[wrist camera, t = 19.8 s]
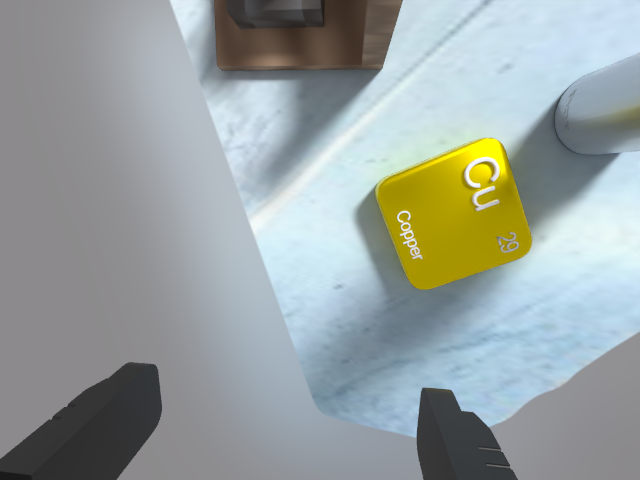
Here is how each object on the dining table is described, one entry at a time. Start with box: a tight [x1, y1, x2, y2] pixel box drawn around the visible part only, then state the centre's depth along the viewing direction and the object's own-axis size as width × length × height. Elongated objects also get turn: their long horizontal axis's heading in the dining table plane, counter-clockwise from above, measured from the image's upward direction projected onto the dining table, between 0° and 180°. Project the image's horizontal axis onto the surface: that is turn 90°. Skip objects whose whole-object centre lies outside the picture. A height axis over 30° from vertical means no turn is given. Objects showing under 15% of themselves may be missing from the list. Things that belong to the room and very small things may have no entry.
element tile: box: [375, 138, 532, 290], centre depth 38 cm, size 15×15×5 cm
